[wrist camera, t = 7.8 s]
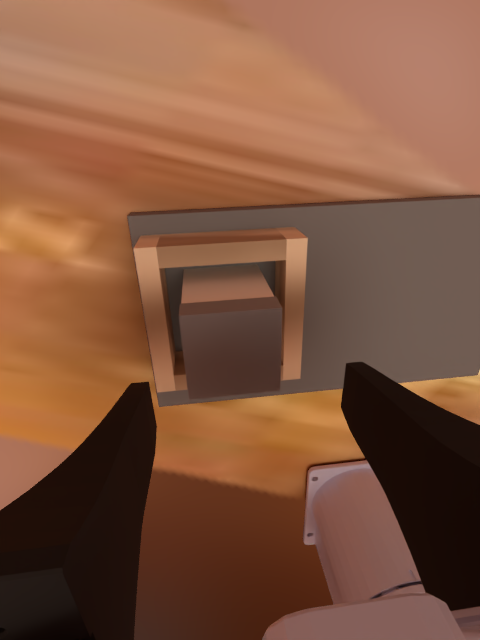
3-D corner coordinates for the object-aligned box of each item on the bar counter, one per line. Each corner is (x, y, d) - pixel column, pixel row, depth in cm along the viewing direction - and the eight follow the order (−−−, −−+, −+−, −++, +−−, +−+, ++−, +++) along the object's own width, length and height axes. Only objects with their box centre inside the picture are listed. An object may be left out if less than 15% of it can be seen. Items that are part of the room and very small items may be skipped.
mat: (468, 367, 26) (477, 375, 25) (160, 397, 24) (158, 406, 23) (520, 192, 21) (535, 194, 20) (130, 212, 19) (127, 216, 18)
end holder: (289, 355, 23) (300, 378, 20) (160, 367, 22) (157, 392, 20) (294, 226, 19) (307, 237, 17) (140, 235, 18) (133, 248, 16)
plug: (258, 329, 22) (280, 390, 16) (189, 335, 21) (188, 399, 16) (258, 263, 20) (282, 307, 14) (182, 268, 19) (178, 315, 14)
